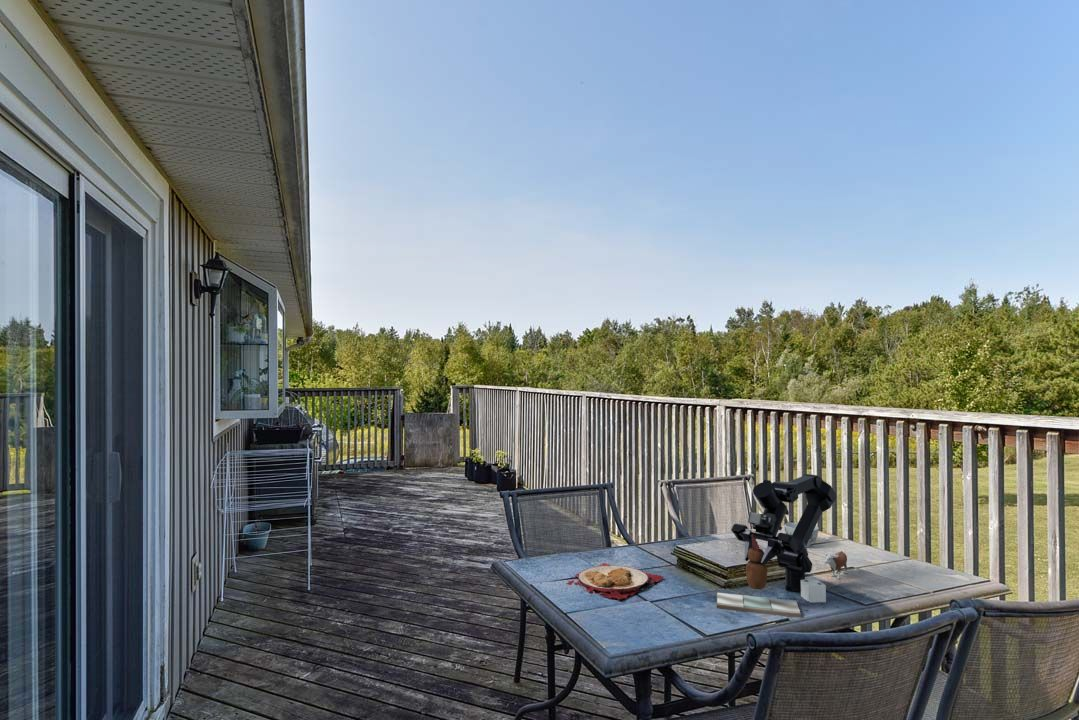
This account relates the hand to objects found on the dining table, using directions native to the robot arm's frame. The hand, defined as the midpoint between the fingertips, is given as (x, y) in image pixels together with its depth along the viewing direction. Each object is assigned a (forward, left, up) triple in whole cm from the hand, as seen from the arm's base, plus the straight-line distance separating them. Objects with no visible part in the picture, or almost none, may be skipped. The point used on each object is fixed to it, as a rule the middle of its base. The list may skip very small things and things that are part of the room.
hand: (753, 562), depth 166 cm
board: (-1, +1, -13) cm, 13 cm away
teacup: (-74, +21, -13) cm, 78 cm away
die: (-12, +17, -13) cm, 25 cm away
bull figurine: (-37, +28, -13) cm, 48 cm away
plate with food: (-9, -44, -14) cm, 47 cm away
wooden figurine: (-1, +1, -8) cm, 8 cm away
